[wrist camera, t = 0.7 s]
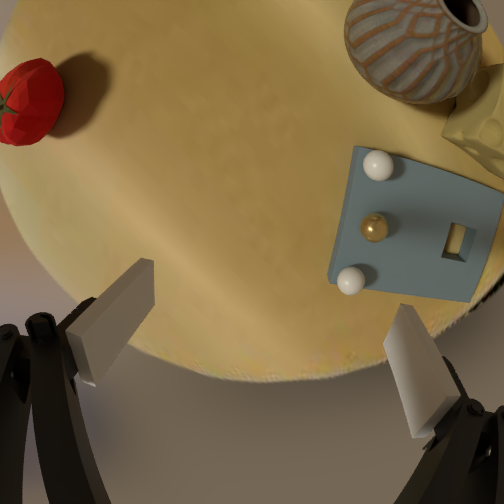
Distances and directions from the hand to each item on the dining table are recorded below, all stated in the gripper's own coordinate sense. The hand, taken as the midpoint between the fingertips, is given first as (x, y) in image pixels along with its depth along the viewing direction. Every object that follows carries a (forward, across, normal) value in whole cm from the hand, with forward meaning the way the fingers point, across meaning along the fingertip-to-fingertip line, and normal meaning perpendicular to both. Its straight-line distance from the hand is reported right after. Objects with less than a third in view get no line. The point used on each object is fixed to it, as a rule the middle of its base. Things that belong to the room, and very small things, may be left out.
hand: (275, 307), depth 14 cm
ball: (+17, +10, +1) cm, 19 cm away
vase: (+21, +9, +21) cm, 31 cm away
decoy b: (+17, +9, -6) cm, 20 cm away
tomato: (+21, -36, +12) cm, 44 cm away
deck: (+21, +18, +1) cm, 27 cm away
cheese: (+21, +23, +17) cm, 36 cm away
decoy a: (+17, +9, +7) cm, 20 cm away
